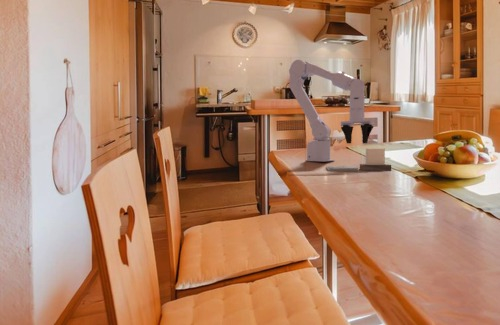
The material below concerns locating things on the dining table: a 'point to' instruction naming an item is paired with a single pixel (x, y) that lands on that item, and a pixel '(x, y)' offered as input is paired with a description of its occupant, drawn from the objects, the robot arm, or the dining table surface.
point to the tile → (341, 168)
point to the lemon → (421, 154)
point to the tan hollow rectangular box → (375, 167)
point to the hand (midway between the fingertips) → (356, 143)
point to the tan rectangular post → (375, 156)
